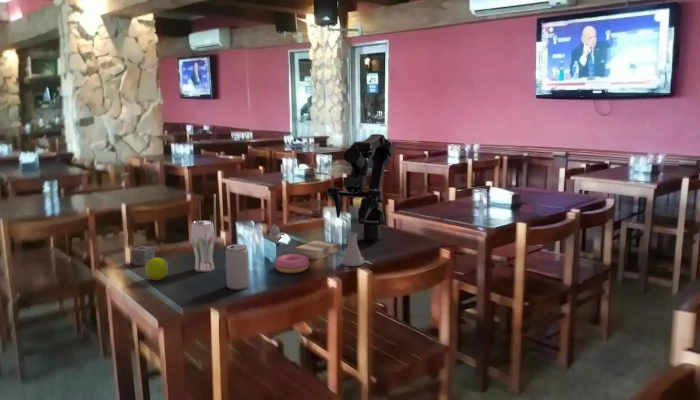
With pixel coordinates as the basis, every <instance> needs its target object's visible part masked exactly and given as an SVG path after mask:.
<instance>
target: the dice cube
mask: <svg viewBox="0 0 700 400" xmlns="http://www.w3.org/2000/svg"><path fill="white" fill-rule="evenodd" d="M130 251H131V261H132V262H131V263H132V265H135V266H144V267H145V266H146V264H147V262H148V261H149V260H150V259H152V258H156V253H155V251H156V250H155V246H150V245H149V246H147V245H140V246H138V247H134V248H133V249H130Z"/></svg>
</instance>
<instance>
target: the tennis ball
mask: <svg viewBox="0 0 700 400" xmlns="http://www.w3.org/2000/svg"><path fill="white" fill-rule="evenodd" d="M144 273H145V276H147V278H149V279H150V280H153V281H160V280H162V279H164V278H165V277H166V276H167V275H168V273H169V264H168V262H167V261H166V260H165V259H164V258H161V257H155V258H152V259H150V260H149V261H148V262H147V264H146V266H144Z"/></svg>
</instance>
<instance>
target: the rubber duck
mask: <svg viewBox="0 0 700 400" xmlns="http://www.w3.org/2000/svg"><path fill="white" fill-rule="evenodd" d="M269 232H270V233H269V235H268V237H267V240H268V239H270V240H272V241H277V242H278V241H279V240H280V239H281V238H282V237H281V235H284V236H285V233H284V232H280V228H279V227H278V226H277V225H275V223H273V224H272V226H271V228H270V230H269ZM281 243H282V242H280V243H276V245H279V244H281Z"/></svg>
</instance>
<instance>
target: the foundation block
mask: <svg viewBox="0 0 700 400" xmlns="http://www.w3.org/2000/svg"><path fill="white" fill-rule="evenodd" d="M338 246H339V244H338V242H337V243H336V242H330V241H325V240H319V239H315V240H313V241H310V242H308V243H305V244H302V245H299V246H296V247H295V254H300V255H303V256H306V257H307V258H308V260H309V259H310V260H314V261H319V260H321V259H324V258H326V257H328V256H331V255H333V254H336V253H338V252H339V247H338Z"/></svg>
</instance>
